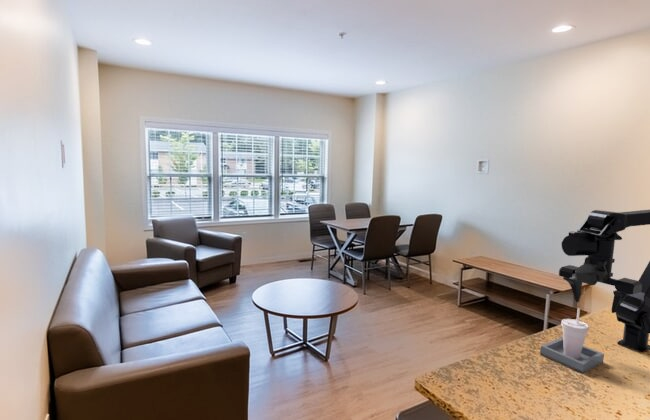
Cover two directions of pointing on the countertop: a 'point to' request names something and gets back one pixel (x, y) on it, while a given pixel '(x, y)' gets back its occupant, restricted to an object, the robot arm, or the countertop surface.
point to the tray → (585, 363)
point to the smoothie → (574, 336)
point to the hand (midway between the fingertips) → (594, 307)
